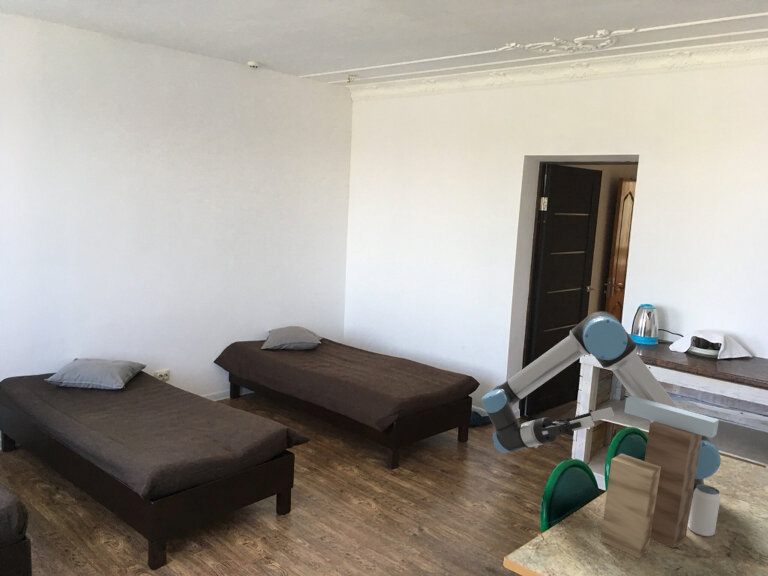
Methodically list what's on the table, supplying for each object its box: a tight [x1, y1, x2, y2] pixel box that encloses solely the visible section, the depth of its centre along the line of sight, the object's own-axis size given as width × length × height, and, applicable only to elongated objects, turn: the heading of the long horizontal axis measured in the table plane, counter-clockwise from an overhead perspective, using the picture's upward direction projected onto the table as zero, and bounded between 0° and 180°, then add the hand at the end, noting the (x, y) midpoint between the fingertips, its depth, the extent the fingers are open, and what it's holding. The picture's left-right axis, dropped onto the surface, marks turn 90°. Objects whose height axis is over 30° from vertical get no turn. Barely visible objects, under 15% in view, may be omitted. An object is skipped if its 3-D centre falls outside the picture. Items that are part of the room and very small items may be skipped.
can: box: [687, 484, 721, 538], centre depth 168 cm, size 6×6×12 cm
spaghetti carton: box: [623, 395, 720, 439], centre depth 162 cm, size 22×4×4 cm, turn 47°
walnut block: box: [644, 421, 702, 549], centre depth 163 cm, size 10×10×30 cm
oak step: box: [600, 453, 661, 559], centre depth 156 cm, size 6×10×22 cm, turn 47°
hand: (603, 416), depth 174 cm, fingers open, 13 cm apart
